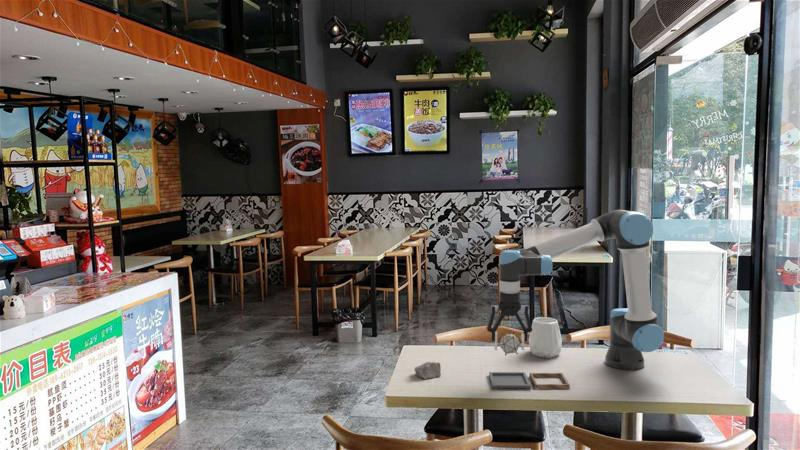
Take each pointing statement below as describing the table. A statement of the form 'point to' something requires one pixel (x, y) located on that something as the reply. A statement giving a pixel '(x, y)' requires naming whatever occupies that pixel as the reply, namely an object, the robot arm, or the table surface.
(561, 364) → the table surface
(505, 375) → the tray
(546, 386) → the corral
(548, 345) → the vase
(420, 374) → the stone
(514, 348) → the game die
